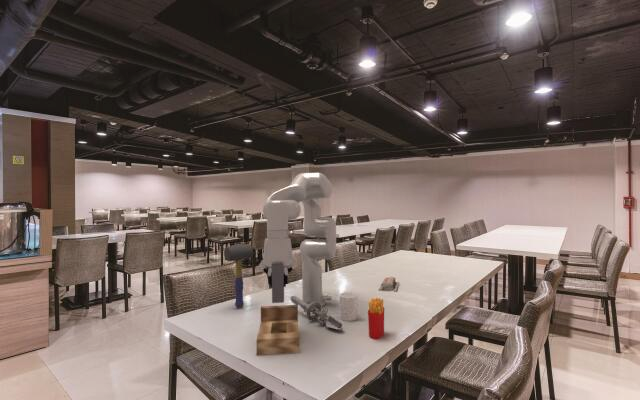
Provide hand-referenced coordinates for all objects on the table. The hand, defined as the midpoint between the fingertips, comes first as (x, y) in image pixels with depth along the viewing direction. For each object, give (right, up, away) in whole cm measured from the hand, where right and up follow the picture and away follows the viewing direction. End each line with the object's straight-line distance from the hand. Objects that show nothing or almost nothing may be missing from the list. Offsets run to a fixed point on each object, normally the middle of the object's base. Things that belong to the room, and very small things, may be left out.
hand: (278, 285), depth 112 cm
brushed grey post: (0, -5, 0) cm, 5 cm away
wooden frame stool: (0, -20, 0) cm, 20 cm away
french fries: (+36, -20, +4) cm, 41 cm away
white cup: (+27, -20, +22) cm, 40 cm away
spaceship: (+12, -20, +20) cm, 31 cm away
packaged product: (+55, -21, +70) cm, 92 cm away
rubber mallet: (-24, -21, +38) cm, 49 cm away
